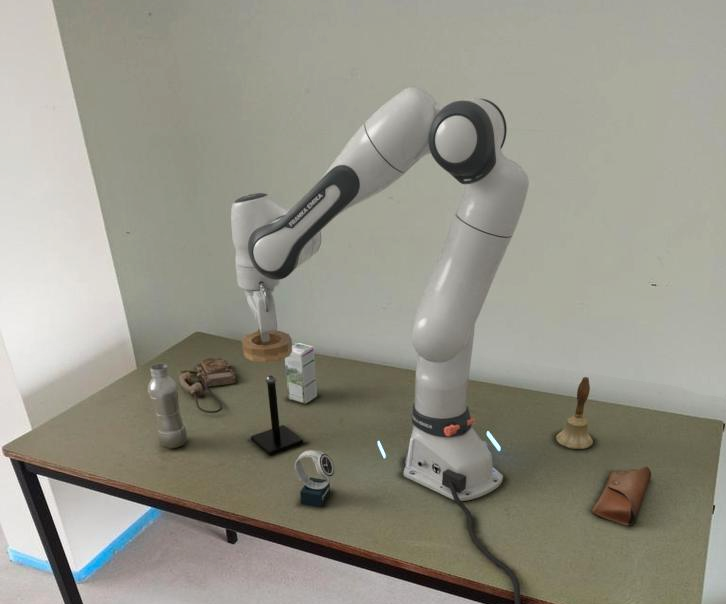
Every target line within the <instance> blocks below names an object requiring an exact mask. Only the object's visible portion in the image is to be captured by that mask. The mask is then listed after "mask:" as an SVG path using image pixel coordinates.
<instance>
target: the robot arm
mask: <svg viewBox="0 0 726 604" xmlns="http://www.w3.org/2000/svg"><path fill="white" fill-rule="evenodd" d="M507 129H508V127H507V121H506V117H505V114H504V113H503V111H502V110H501V109H500V107H499V106H498V105H497V104H496V103H494V102H493V101H491V100H489V99H486V98H478V97H465V98H460V99H458V100H456V101H455V100H454V101H453V102H450V103H447V105H445V106H442V105H441V104H439V103H438V102H437V101H436V99H435V97H433V96H432V95H431V93H429V92H428V91H427V90H424V89H423V88H421V87H419V86H418V87H417V86H408V87H406V88H404V89H403V90H401V91H400V92H398V93H397V94H395V95H394V96H392V98H390V99H389V100H387V101H386V102H385V103H383V105H381V106H380V107H379V108H378V109H376V111H375V112H373V113H372V115H370V116H369V117H368V119H366V121H364V122H363V124H361V126H360V127H359V128H358V129H357V130H356V131H355V133H354V134H353V135H352V136H351V138H350V139H349V140H348V141H347V143H346V144H345V145H344V147H343V148H342V150H341V151H340V153H339V154H338V155H337V157H336V158H335V159H334V161H333V162H332V163H331V165H330V166H329V168H328V169H327V170H326V171H325V172H324V173H323V175H322V176H321V178H320V179H319V180H318V182H317V183H316V184H315V185H314V186H313V187H312V188H311V189H310V190H309V191H308V192H307V193H306V194H305V195H304V196H303V197H302V198H301V199H299V201H297V202H296V204H295V205H294V206H292V208H288V207H286V206H284V205H282V204H281V203H278V202H277V201H276V200H274V198H273V197H272V196H271V195H269V194H268V193H265V192H257V193H251V194H248V195H244V196H241V197H239V198H237V199H236V200H235V201H233V203H232V204H231V210H230V225H231V237H232V238H231V239H232V243H233V246H234V249H235V260H234V263H235V264H234V265H235V272H236V273H235V274H236V279H237V280H236V283H237V286H238V287H239V288H241V289H243V290H244V294H245V299H246V302H247V304H248V306H249V309H250V311H251V314H252V316H253V318H254V320H255V323H256V325H257V331H260V336H261V340H262V342H268V341H269V340H270V337H269V333H271V332H276V331H278V320H277V310H276V303H275V297H274V295H273V294H274V292H275V287H277V286H279V284H280V280H283V279H286V278H287V277H289V276H290V274H292V273H293V272H294V271H295V270H296V269H297V268H299V267H300V266H302V265H303V264H304V263H306V262H307V261H308V260H310V259H311V258H313V257H314V255H316V253H318V252H319V249H320V247H321V245H322V233H321V231H322V230H323V229H324V228H325V227H326V226H327V225H329V224H330V222H332V221H333V220H334V219H335V218H336V217H337V216H339V215H340V214H342V213H343V212H346V211H347V210H348V209H350V208H352V207H354V206H356V205H357V204H360V203H362V202H364V201H366V200H367V199H370V198H372V197H374V196H376V195H377V194H379V193H381V192H383V191H385V190H386V189H387V188H389V187H390V186H391V185H393V184H394V183H396V182H397V181H398V180H399V179H400V178H402V177H403V176H404V175H405V174H406V173H407V172H408V171H409V170H410V169H411V168H412V167H413V166H414V165H415V164H416V163H417V162H418V161H420V160H421V159H423V157H426V156H428V155H430V154H431V157H432V158H433V159H434V161H435V162H436V164H438V166H440V167H441V168H442V169H443V170H444V171H446V172H447V173H448V174H449V175H451V176H452V177H453V178H454V179H455V180H456V181H457V182H458V183H459V184H460V185H464V188H463V193H462V196H461V199H460V202H459V204H458V207H457V208H456V212H455V214H454V217H453V219H452V222H451V225H450V227H449V229H448V233H447V236H446V238H445V241H444V242H443V246H442V248H441V251H440V253H439V256H438V259H437V260H436V262H435V265H434V268H433V271H432V272H431V275H430V278H429V281H428V283H427V285H426V288H425V290H424V293H423V294H422V297H421V300H420V302H419V305H418V308H417V311H416V313H415V316H414V318H413V320H412V325H411V343H412V346H413V348H414V349H415V350H414V351H415V352H416V353H417V361H416V367H415V377H414V380H415V381H414V402H413V404H412V409H411V422H412V425H413V426H412V430H411V435H410V439H409V444H408V451H407V454H406V457H405V463H404V464H405V466H404V469H403V474H402V476H403V477H405V478H406V479H408V480H411V481H413V482H415V483H416V484H419V485H421V486H423V487H425V488H427V489H430V490H432V491H433V492H435V493H438V494H440V495H442V496H444V497H446V498H449V499H450V500H452V501H454V502H455V503H456V504H457V506H458V507H459V508H460V509H461V510H462V511H463V512H464V514H465V515H466V518H467V522H468V525H467V526H468V528H467V530H468V533H469V535H470V538H471V540H472V541H473V543H474V544H475V545H476V547H477V548H478V549H479V550H480V551H481V553H483V555H485V556H486V557H487V559H489V561H491V562H492V563H494V565H496V567H497V566H498V568H500V569H502V571H504V572H505V573H506V574H507V575H508V576H509V578H510V579H511V582H512V584H513V599H514V604H521V603H522V601H521V587H520V581H519V579H518V577H517V575H516V574H515V573H514V571H513V570H512V569H511V568H510V567H509V566H508V565H507V564H505V563H504V562H503V561H501V560H500V559H498V558H497V557H496V556H495V555H493V553H492V552H490V551H489V550H488V548H487V547H486V546H485V545H484V544H483V543H482V542H481V541H480V539H479V538H478V536H477V535H476V532H475V529H474V517H473V515H472V513H471V511H470V510H469V508H467V506H466V505H465V504H464V503H463V502H464V501H465V502H466V501H470V500H475V499H478V498H481V497H483V496H486V495H487V494H489V493H491V492H493V491H494V490H497V488H499V487H500V486H501V484H502V483H503V480H504V475H503V474H502V473H501V472H500V471H499V470H497V469H496V468H495V467H494V465H493V464H494V463H493V457H492V456H493V455H492V453H491V451H490V450H489V446H488V443H487V441H486V440H482V439H481V438H480V436H479V434H478V433H477V432H476V430H475V429H474V428H473V424H475V423H476V421H475V420H476V419H477V418H476V417H471V413H470V409H469V406H468V396H469V395H468V394H469V384H470V383H469V381H470V373H471V371H470V370H471V365H472V364H471V363H472V357H473V346H474V338H475V329H476V323H477V320H478V318H479V315H480V313H481V311H482V309H483V305H484V303H485V302H486V299H487V296H488V294H489V291H490V289H491V286H492V284H493V282H494V279H495V278H496V276H497V275H496V274H497V272H498V270H499V267H500V266H501V263H502V261H503V258H504V256H505V254H506V252H507V249H508V248H509V245H510V243H511V241H512V238H513V236H514V234H515V231H516V230H517V228H518V227H517V226H518V224H519V221H520V218H521V215H522V213H523V209H524V206H525V202H526V199H527V195H528V190H529V185H530V181H529V176H528V173H527V172H526V170H525V169H524V168H523V167H522V166H521V165H520V164H518V162H516V161H514V160H512V159H509V158H508V157H506V156H505V155H504V153H503V151H502V150H503V149H502V148H503V146H504V145H505V143H506V142H505V141H506V138H507V131H508V130H507ZM486 436H487V437H488V439H489V440H490V441H491V443H492V444H493V445H494V447H495V448H496V450H497V451H498V452H500V451H501V446H500V445H499V443H498V442H497V440H496V439H495V437H493V435H492V433H490V431H489V430H488V431H487V432H486ZM377 446H378V448H379V451H380V453H381V455H382V457H383V459H386V453H385V451H384V448H383V446H382V444H381V442H380V440H378V441H377Z"/></svg>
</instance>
